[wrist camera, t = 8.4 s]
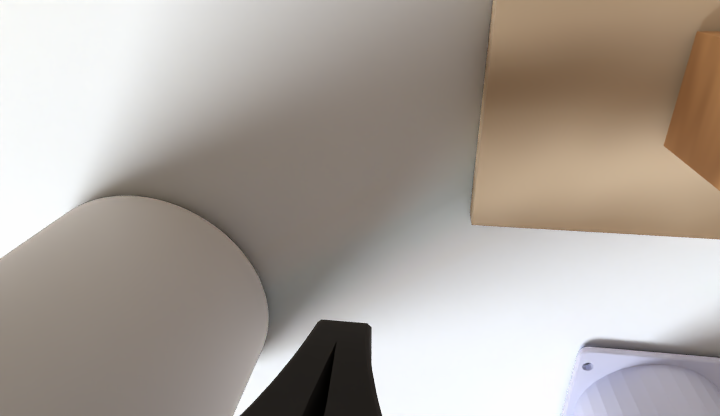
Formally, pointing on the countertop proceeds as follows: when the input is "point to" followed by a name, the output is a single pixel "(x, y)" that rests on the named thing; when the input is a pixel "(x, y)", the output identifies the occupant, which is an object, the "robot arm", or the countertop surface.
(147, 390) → the cylinder vase
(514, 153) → the base board
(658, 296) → the countertop surface
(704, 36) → the brown piece
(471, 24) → the countertop surface
